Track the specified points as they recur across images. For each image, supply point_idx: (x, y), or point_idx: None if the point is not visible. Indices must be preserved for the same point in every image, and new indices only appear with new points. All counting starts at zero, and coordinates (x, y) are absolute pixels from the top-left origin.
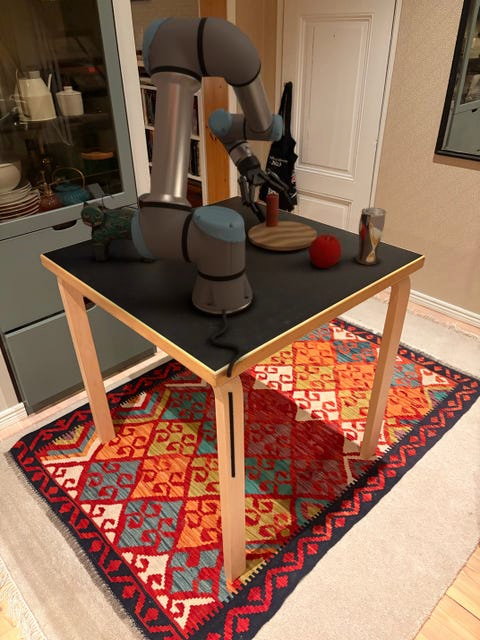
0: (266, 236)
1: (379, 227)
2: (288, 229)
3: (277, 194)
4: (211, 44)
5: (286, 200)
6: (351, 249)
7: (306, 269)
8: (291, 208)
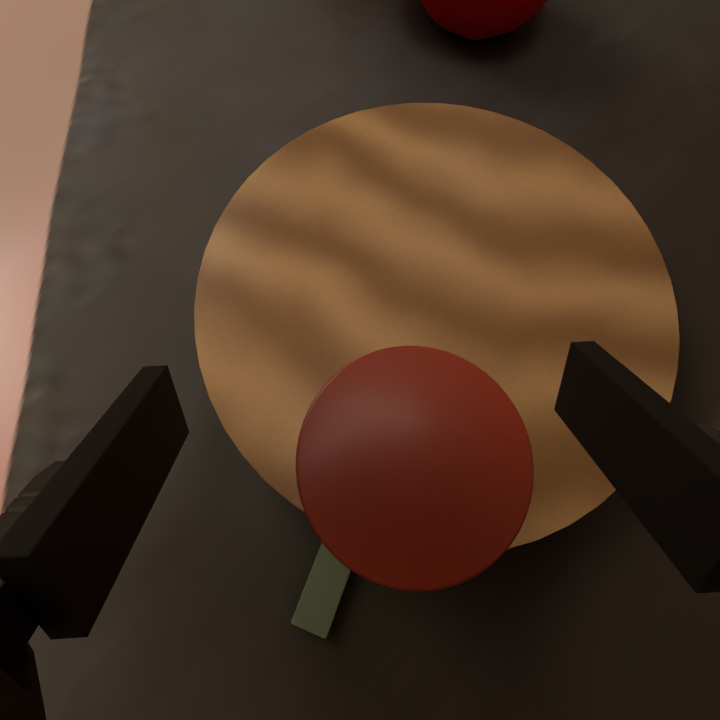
0: (563, 324)
1: None
2: (355, 311)
3: (304, 437)
4: None
5: (118, 469)
6: (247, 31)
7: (566, 31)
8: (166, 392)
